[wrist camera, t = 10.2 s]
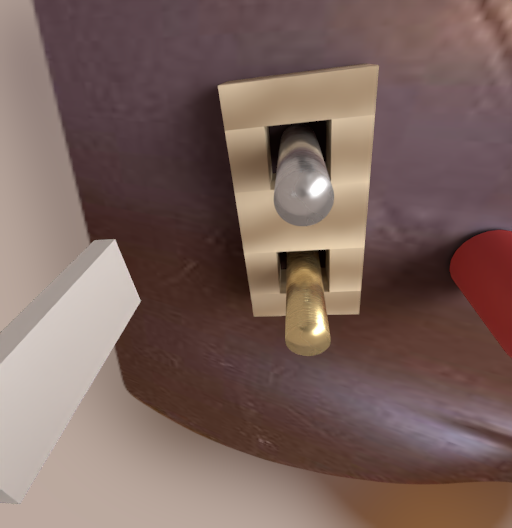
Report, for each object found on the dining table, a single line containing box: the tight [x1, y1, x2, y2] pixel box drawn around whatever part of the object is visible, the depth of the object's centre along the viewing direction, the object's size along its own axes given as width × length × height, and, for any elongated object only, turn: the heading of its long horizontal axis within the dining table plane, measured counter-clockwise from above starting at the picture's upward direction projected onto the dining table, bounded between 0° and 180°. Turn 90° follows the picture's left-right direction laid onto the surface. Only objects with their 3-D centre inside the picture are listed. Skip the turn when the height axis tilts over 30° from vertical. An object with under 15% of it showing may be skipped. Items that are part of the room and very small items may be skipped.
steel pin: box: [274, 124, 334, 226], centre depth 21 cm, size 3×3×12 cm
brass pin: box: [285, 250, 331, 356], centre depth 26 cm, size 3×3×12 cm
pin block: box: [218, 64, 379, 317], centre depth 27 cm, size 20×10×4 cm, turn 7°
